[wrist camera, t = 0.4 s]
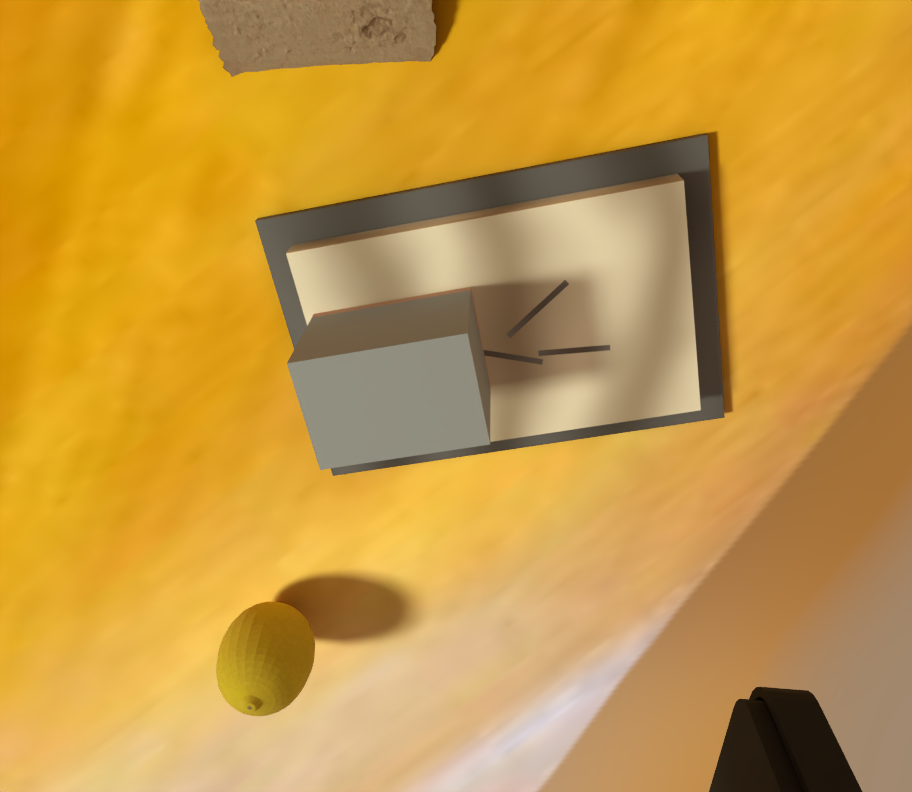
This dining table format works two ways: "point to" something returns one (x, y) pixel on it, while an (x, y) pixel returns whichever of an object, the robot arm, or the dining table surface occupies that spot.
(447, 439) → the block
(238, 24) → the clay tablet
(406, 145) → the dining table surface
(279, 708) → the lemon
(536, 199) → the board
